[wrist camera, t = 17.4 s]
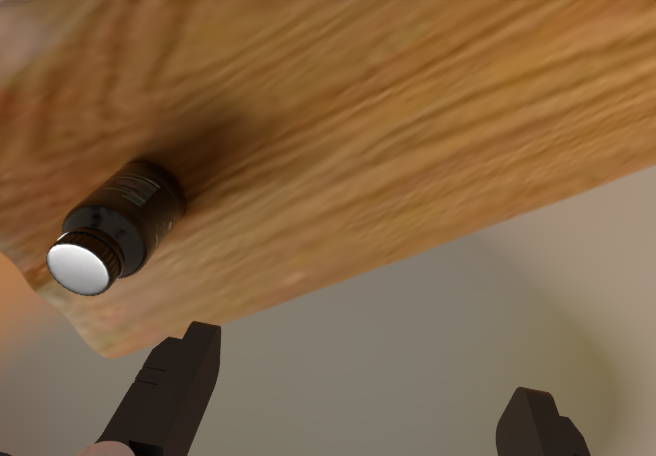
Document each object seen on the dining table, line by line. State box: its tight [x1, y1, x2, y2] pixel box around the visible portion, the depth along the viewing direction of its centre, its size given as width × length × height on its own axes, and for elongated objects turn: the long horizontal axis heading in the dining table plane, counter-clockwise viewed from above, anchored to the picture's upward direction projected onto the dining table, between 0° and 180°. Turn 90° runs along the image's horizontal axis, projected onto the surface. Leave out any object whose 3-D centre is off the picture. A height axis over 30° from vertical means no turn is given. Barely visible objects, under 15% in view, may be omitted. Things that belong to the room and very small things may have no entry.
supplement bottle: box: [46, 162, 185, 296], centre depth 39 cm, size 7×7×12 cm
